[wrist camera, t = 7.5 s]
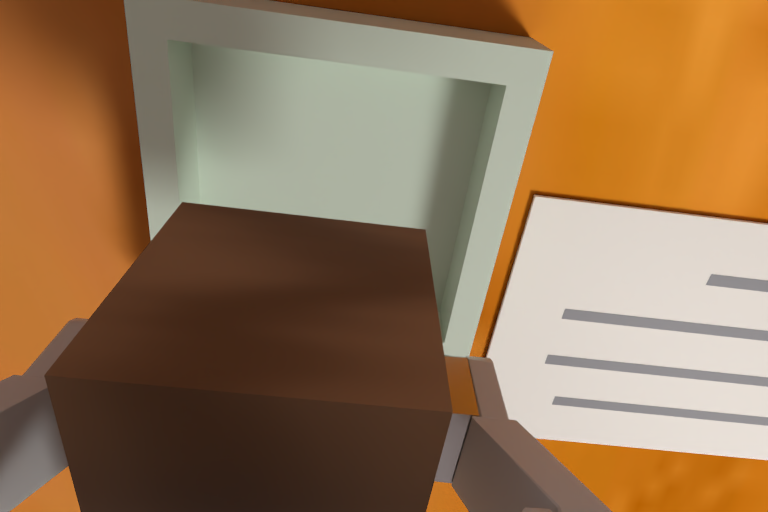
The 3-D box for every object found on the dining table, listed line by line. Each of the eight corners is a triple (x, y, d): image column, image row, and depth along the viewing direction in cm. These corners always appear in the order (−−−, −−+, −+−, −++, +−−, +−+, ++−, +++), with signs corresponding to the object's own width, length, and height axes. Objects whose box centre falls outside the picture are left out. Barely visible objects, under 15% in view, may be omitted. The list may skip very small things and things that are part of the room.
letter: (955, 246, 19) (959, 248, 19) (787, 459, 25) (789, 462, 25) (534, 194, 18) (535, 196, 18) (464, 428, 24) (464, 431, 24)
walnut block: (425, 229, 11) (452, 412, 7) (393, 400, 13) (397, 614, 9) (182, 201, 11) (44, 374, 6) (195, 382, 13) (103, 595, 9)
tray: (530, 37, 16) (553, 51, 14) (458, 324, 21) (465, 366, 19) (160, -16, 15) (122, -10, 13) (184, 294, 21) (161, 335, 19)
